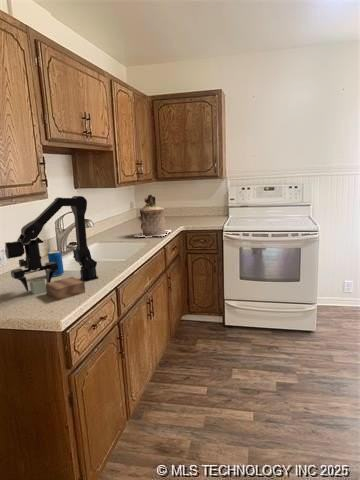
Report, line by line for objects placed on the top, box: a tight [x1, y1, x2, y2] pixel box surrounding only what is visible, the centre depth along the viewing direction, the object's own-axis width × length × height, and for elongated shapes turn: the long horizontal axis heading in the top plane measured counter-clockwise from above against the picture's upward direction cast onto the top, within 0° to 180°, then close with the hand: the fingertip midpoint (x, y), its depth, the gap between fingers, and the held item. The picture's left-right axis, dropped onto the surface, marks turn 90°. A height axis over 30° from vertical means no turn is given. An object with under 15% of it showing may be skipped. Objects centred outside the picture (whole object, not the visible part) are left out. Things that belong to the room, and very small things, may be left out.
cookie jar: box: [133, 193, 172, 238], centre depth 271 cm, size 25×25×32 cm
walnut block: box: [45, 276, 86, 301], centre depth 150 cm, size 12×12×5 cm
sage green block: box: [28, 277, 47, 295], centre depth 155 cm, size 5×5×5 cm
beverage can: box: [47, 250, 65, 277], centre depth 178 cm, size 6×6×12 cm
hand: (38, 288), depth 155 cm, fingers open, 9 cm apart
